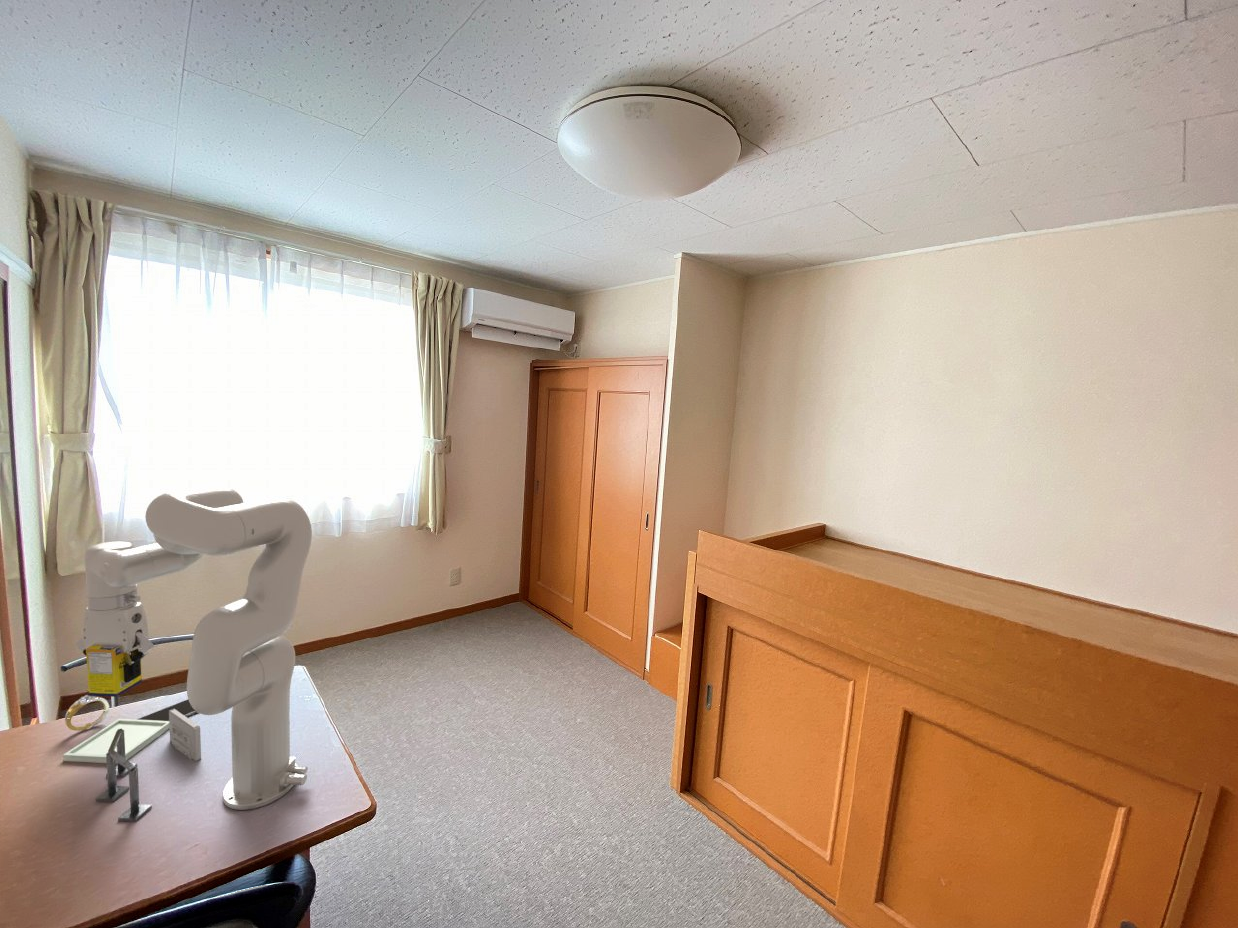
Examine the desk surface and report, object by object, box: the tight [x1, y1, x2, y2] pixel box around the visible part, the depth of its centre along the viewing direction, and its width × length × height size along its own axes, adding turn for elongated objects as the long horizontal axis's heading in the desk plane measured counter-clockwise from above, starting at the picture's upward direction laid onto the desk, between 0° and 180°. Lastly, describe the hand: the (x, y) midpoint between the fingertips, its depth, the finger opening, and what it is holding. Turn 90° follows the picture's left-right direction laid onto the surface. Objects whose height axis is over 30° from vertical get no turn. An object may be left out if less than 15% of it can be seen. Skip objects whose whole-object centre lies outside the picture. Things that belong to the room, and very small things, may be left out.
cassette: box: [169, 709, 202, 762], centre depth 109 cm, size 12×2×8 cm, turn 63°
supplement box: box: [85, 645, 143, 698], centre depth 107 cm, size 6×6×11 cm
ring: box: [64, 694, 110, 731], centre depth 113 cm, size 7×3×8 cm, turn 148°
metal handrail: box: [95, 729, 153, 823], centre depth 96 cm, size 20×7×10 cm, turn 52°
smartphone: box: [137, 698, 199, 721], centre depth 120 cm, size 7×1×16 cm
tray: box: [62, 718, 170, 765], centre depth 109 cm, size 12×12×1 cm
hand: (117, 676), depth 108 cm, fingers closed on supplement box, 6 cm apart
